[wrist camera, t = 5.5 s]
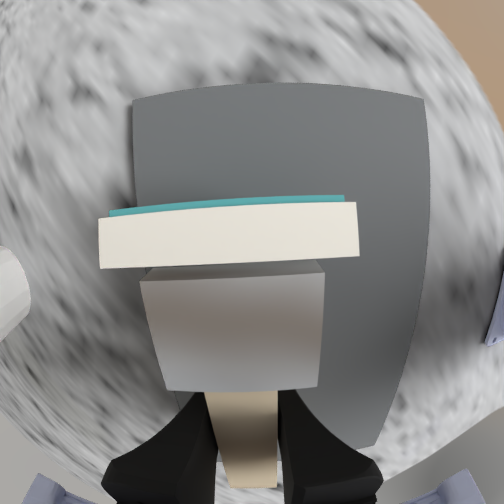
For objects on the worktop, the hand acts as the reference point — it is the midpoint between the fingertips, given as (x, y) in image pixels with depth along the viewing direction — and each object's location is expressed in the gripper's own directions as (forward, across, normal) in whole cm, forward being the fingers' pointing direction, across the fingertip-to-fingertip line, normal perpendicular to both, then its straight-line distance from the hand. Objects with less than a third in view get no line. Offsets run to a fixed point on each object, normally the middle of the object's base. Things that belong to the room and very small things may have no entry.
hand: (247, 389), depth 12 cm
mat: (+3, -2, -2) cm, 4 cm away
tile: (+2, 0, -6) cm, 7 cm away
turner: (+2, 0, -1) cm, 2 cm away
